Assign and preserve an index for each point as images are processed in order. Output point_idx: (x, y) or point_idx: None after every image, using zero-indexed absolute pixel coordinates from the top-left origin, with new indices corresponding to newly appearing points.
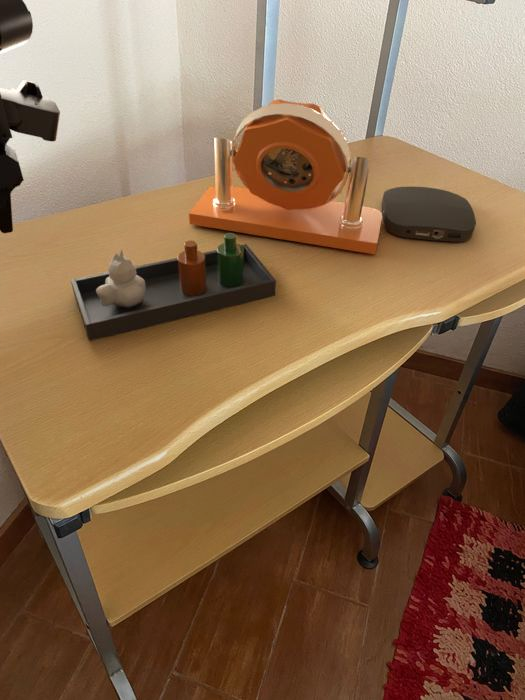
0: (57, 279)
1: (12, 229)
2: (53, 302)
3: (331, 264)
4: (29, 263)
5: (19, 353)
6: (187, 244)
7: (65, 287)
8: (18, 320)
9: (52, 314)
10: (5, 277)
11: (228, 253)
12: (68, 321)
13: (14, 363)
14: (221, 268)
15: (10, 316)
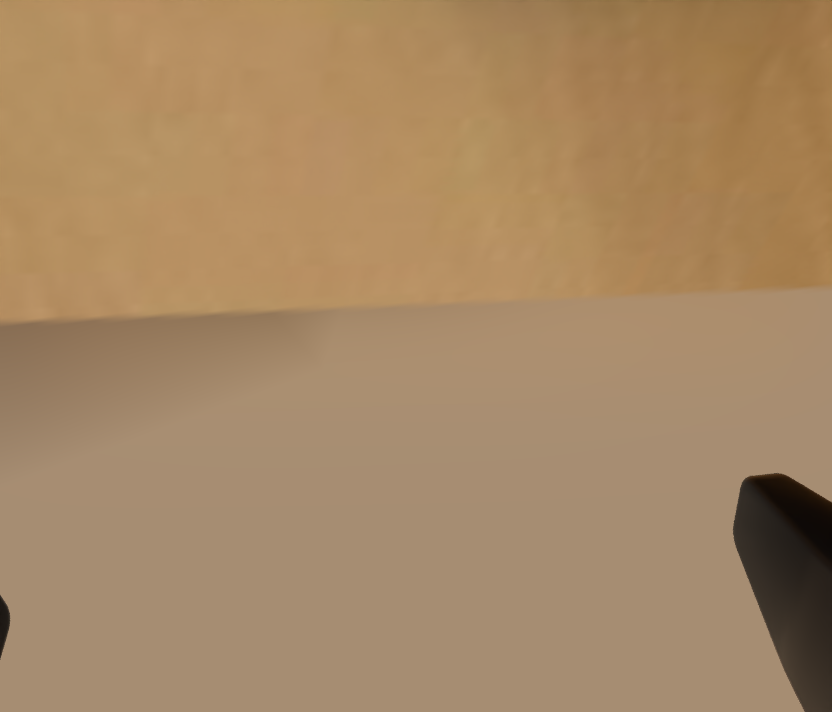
0: (236, 61)
1: (801, 485)
2: (457, 91)
3: None
4: (58, 211)
5: (774, 241)
6: None
7: (328, 16)
8: (548, 251)
9: (560, 99)
10: (187, 314)
11: None
12: (652, 16)
13: (824, 257)
14: None
15: (506, 282)
